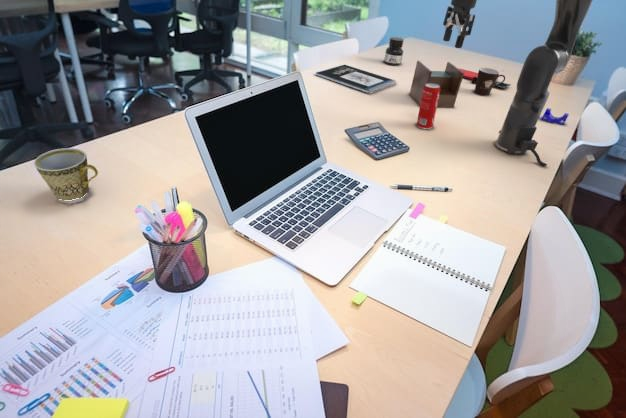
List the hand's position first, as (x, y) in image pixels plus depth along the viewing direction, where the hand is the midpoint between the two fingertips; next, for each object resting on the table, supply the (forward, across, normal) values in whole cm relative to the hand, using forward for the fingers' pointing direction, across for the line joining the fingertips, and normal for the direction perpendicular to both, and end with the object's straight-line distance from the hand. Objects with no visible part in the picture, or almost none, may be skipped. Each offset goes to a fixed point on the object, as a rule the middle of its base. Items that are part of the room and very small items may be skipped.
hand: (451, 44), depth 131 cm
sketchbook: (+27, -42, -18) cm, 53 cm away
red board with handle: (+27, -45, +46) cm, 70 cm away
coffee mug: (+27, -26, +39) cm, 54 cm away
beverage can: (+27, +6, -6) cm, 28 cm away
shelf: (+27, -18, +8) cm, 33 cm away
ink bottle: (+27, -69, +10) cm, 75 cm away
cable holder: (+27, +3, +51) cm, 58 cm away
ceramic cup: (+27, +43, -110) cm, 121 cm away
